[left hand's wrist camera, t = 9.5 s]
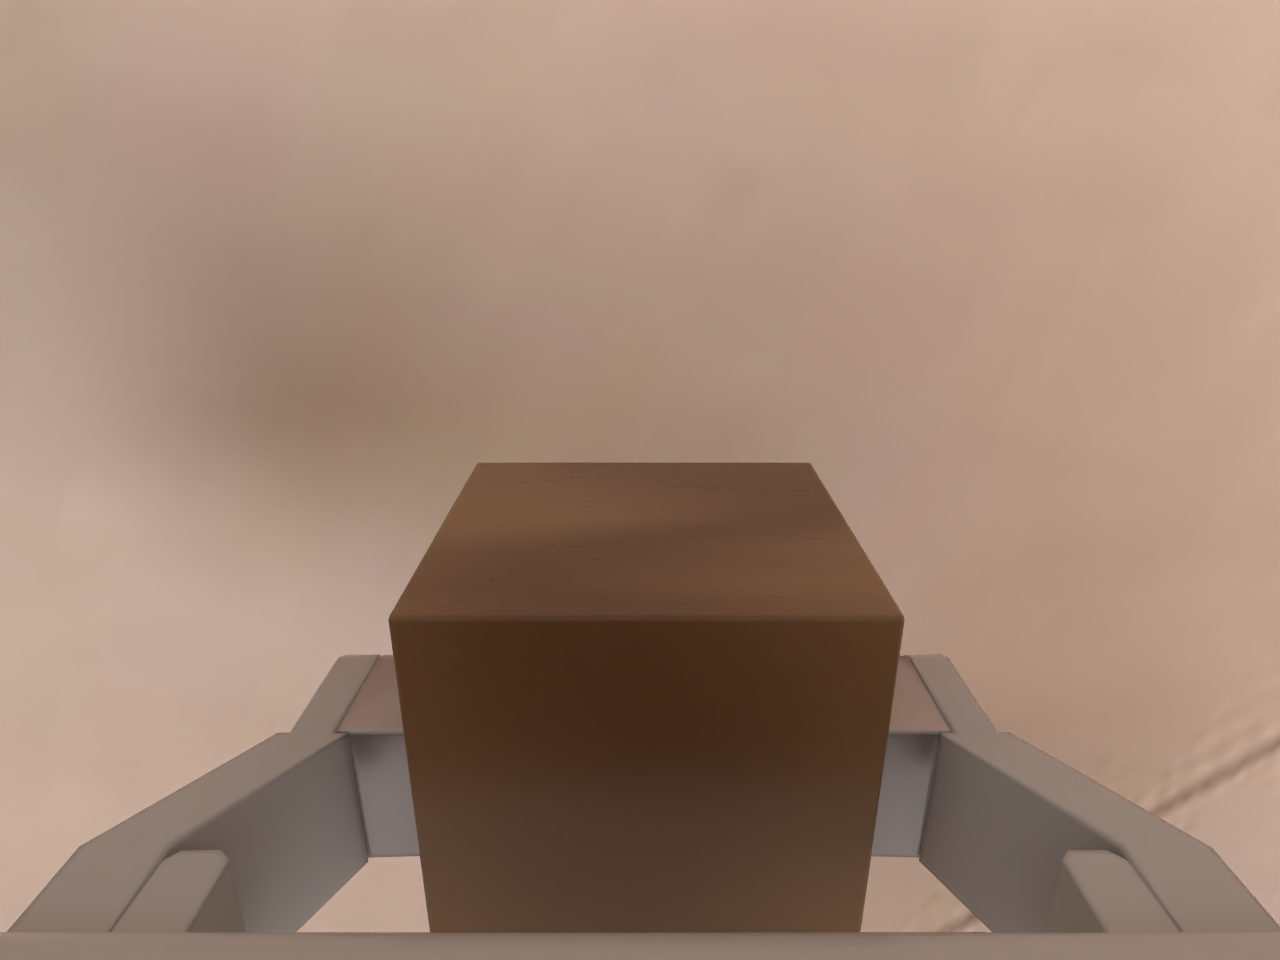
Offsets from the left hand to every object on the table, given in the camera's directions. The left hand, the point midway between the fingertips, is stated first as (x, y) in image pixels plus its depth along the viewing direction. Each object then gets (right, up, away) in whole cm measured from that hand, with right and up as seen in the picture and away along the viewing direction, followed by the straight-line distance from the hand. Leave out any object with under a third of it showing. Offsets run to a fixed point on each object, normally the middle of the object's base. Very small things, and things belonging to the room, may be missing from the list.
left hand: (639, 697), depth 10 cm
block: (0, +1, +2) cm, 2 cm away
